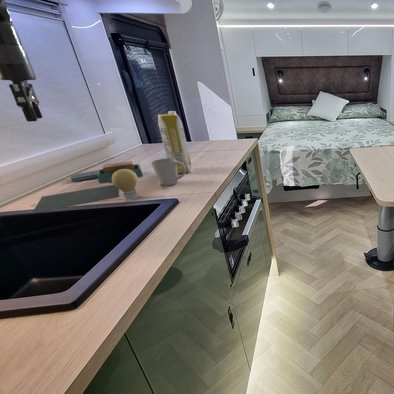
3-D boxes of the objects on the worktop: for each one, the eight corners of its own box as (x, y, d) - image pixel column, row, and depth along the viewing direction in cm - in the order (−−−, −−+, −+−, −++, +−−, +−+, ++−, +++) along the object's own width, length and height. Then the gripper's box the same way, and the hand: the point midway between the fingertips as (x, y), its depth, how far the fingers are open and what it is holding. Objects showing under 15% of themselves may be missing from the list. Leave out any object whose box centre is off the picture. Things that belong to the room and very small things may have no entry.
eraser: (107, 180, 108) (102, 167, 107) (107, 177, 112) (103, 164, 110) (136, 176, 113) (132, 163, 112) (135, 173, 117) (131, 161, 115)
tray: (100, 184, 106) (96, 175, 105) (100, 178, 113) (97, 169, 111) (143, 177, 113) (140, 168, 112) (141, 172, 120) (139, 163, 119)
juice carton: (193, 172, 119) (180, 111, 110) (171, 175, 115) (155, 113, 106) (190, 167, 126) (177, 109, 117) (169, 170, 122) (154, 111, 113)
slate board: (32, 215, 82) (31, 213, 82) (42, 198, 94) (42, 196, 94) (119, 198, 93) (119, 196, 93) (119, 185, 105) (118, 183, 105)
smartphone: (70, 174, 113) (117, 166, 122) (72, 178, 114) (119, 169, 123) (70, 179, 108) (119, 169, 117) (72, 183, 109) (121, 173, 117)
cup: (160, 181, 109) (154, 159, 105) (189, 178, 112) (184, 156, 108) (155, 188, 102) (148, 164, 99) (186, 184, 105) (181, 161, 102)
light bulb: (117, 200, 92) (106, 169, 88) (140, 194, 96) (131, 165, 93) (121, 205, 88) (111, 174, 84) (146, 199, 92) (137, 169, 89)
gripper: (0, 63, 87) (23, 118, 93) (-16, 60, 77) (11, 123, 83) (35, 63, 91) (55, 116, 97) (24, 61, 81) (48, 121, 87)
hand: (35, 119), depth 90 cm, fingers open, 8 cm apart
